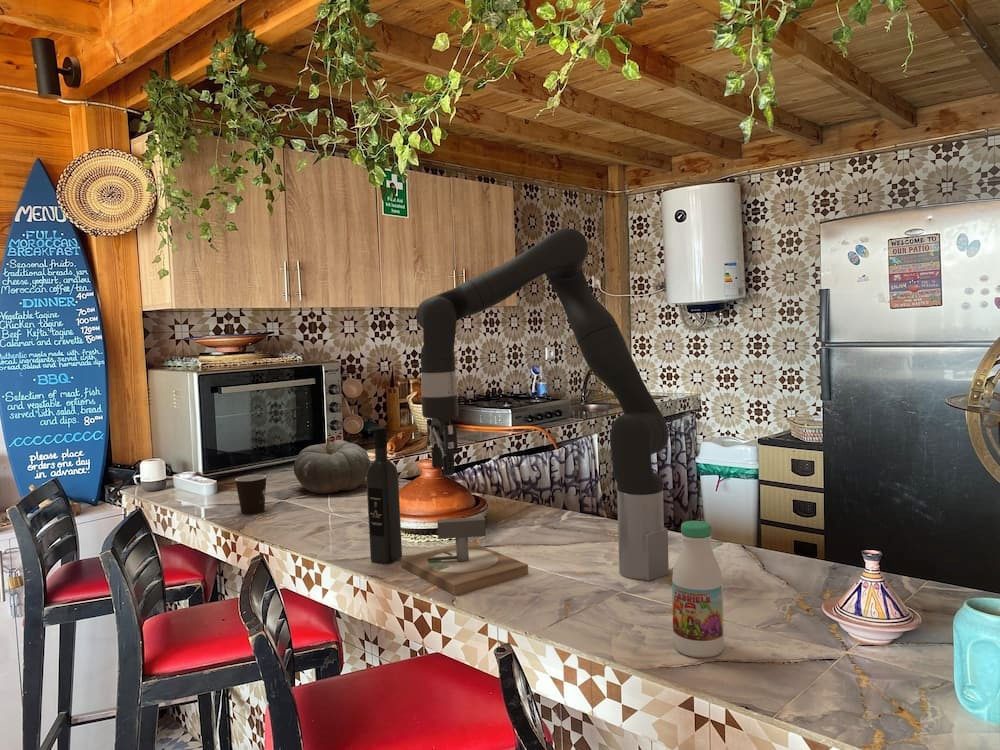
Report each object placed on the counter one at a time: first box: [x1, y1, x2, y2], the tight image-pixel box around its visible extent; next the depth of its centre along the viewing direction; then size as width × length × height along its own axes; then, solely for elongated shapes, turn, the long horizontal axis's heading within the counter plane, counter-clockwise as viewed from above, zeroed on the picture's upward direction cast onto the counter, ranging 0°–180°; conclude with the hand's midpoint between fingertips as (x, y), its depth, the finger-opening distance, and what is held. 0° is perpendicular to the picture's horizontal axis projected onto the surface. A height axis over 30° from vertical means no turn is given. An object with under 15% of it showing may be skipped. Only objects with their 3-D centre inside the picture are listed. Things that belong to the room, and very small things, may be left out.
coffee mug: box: [234, 474, 267, 515], centre depth 217 cm, size 12×9×10 cm
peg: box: [427, 516, 487, 561], centre depth 156 cm, size 12×3×8 cm, turn 95°
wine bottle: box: [365, 426, 403, 565], centre depth 165 cm, size 6×6×30 cm
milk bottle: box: [671, 520, 725, 659], centre depth 116 cm, size 8×8×20 cm
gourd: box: [293, 437, 372, 495], centre depth 241 cm, size 25×25×17 cm
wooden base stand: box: [400, 540, 529, 596], centre depth 157 cm, size 22×18×2 cm
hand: (443, 470), depth 154 cm, fingers open, 8 cm apart
